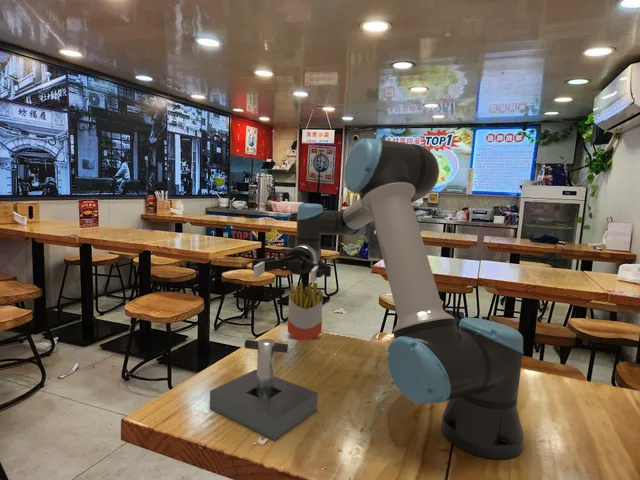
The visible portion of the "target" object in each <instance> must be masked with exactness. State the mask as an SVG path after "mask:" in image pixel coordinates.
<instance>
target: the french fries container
mask: <svg viewBox="0 0 640 480" xmlns="http://www.w3.org/2000/svg"><path fill="white" fill-rule="evenodd" d="M294 286H295V284H294V283H290V286H289V287H290V289H289V290H288V291H289V293H288V310H287V311H288V312H287V314H288V315H287V333H288V334H289V335H291V336H292V337H293V338H294V339H295V340H311V341H312V340H314V339H315V338H316V337H318V335H319V336H320V334H321V333H322V329H323V328H322V326H323V301H324V299H323V297H324V296H323V295H324V293H323V291H322V289H318V282H314V283H310V282H308V286H305V287H304V283H303V282H302V281H301V282H299V285H296V286H295V287H294ZM303 287H304V288H303ZM294 288H295V289H294ZM312 289H313V290H312Z"/></svg>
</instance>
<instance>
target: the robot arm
mask: <svg viewBox="0 0 640 480" xmlns="http://www.w3.org/2000/svg"><path fill="white" fill-rule="evenodd" d="M343 173H344V175H343V176H344V183H345V187H346V188H347V190H348V191H350V192H351V193H353V194H359V199H358V200H356V201H354V202H353V203H352V204H351V205H349V206H347V207H345V208H344V209H343V210H327V209H326V210H325V209H323V205H322V204H321V203H320V204H319V203H309V202H307V203H306V202H305V203H304V202H303V203H300V204H299V205H298V209H297V216H296V235H295V237H296V239H295V247H294V248H293V249H291V250H289V251H288V253H287V254H286V256H282V257H278V256H277V255H274V256H270V257H266V258H265V257H263V258H259V259H253V260H251V271H253V274H252V275H253V276H252V277H253V279H254V278H255V279H257V278H259V277H260V276H261V275H263V274H265V272H269V271H270V272H271V271H278V270H279V271H283V272H284V271H289V272H290V273H291V274H293V275H297V276H301V275H306V274H307V273H309V274H310V282H309V283H311V284H313V283H316V281H317V279H318V278H322V277H324V276H325V277H326V278H329V277H330V278H331V276H332V275H331V273H332V266H331V265H329V264H328V263H326V262H324V261H323V259H321V256H322V248H321V238H322V237H321V236H322V235H328V236H336V235H337V236H354V235H355V236H356V235H357V236H359V235H360V234H362V233H363V232H364V230H365V227H366V225H368V224H369V223H371V222H373V225H374V229H375V232H376V236H377V242H378V244H379V249H380V253H381V256H382V257H381V258H382V260H383V263H384V269H385V272H386V275H387V279H388V284H389V285H388V286H389V288H390V291H391V296H392V300H393V305H394V308H395V312H396V315H397V318H398V320H397V323H396V325H395V326H394V329H393V331H392V333H393V336H394V339H393V340H392V341H391V342H390V343H389V345H388V347H387V348H388V349H387V353H388V354H387V355H386V363H387V368H388V371H389V375H390V377H391V379H392V382H393V383H394V385H395V387H396V388H397V389H398V391H399V392H400V393H401V394H403V395H404V397H405V398H406V399H408V400H409V401H410V402H412V403H415V404H419V405H428V404H439V403H441V404H442V403H445V402H446V401H448V403H447V405H446V407H445V409H444V411H443V413H442V416H441V417H442V418H441V426H440V428H441V432H442V433H443V435H444V437H446V438H447V440H448V441H449V442H450V443H452V444H453V445H455V446H456V447H457V448H459V449H461V450H462V451H466V452H467V453H470V454H473V455H475V456H477V457H478V456H479V457H482V458H487V459H492V460H506V459H512V458H515V457H517V456H518V455H520V454H521V453H522V451H523V447H524V431H523V428H522V423H521V419H520V415H519V411H518V398H519V389H520V377H521V372H522V371H521V369H522V361H523V355H524V337H523V335H522V334H521V333H520V332H519V330H517V329H516V328H514V327H511V326H509V325H506V324H503V323H499V322H497V321H492V320H489V319H483V318H476V317H463V318H461V319H460V321H459V324H458V325H457V322H456V318H455V317H454V316H452V315H451V314H450V313H447V312H446V311H445V310H444V308H443V304H442V301H441V297H440V295H439V290H438V288H437V285H436V281H435V277H434V274H433V270H432V268H431V263H430V261H429V257H428V254H427V251H426V246H425V243H424V240H423V237H422V233H421V230H420V227H419V222H418V220H417V216H416V213H415V209H414V206H413V203H415V202H417V201H419V200H420V199H422V198H424V197H425V196H427V195H428V194H429V193H431V192H432V190H433V189H434V188H435V186H436V184H437V182H438V180H439V177H440V167H439V162H438V160H437V158H436V156H435V155H434V153H433V152H431V151H430V150H429V149H428V148H426V147H425V146H423V145H420V144H415V143H407V142H398V141H392V140H386V139H385V140H384V139H380V138H378V137H377V138H368V137H367V138H362V139H360V140H358V141H357V142H356V143H355V144H354V145H353V147H352V148H351V149H350V151H349V153H348V155H347V157H346V162H345V167H344V172H343Z"/></svg>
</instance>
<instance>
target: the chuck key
mask: <svg viewBox="0 0 640 480" xmlns="http://www.w3.org/2000/svg"><path fill="white" fill-rule="evenodd" d="M244 349H247V350H257V361H256V363H257V365H256V370H257V386H256V397H258V398H260V399H262V400H265V401H266V400H268V399H270V398H271V397H273V376H275V374H274V372H275V368H274V367H275V353H282V354H287V353H288V350H289V344H288V343H282V342H281V343H279V342H276V341H275V340H274V339H270V338H262V339H260V340H252V339H246V340H245V341H244Z"/></svg>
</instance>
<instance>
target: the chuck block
mask: <svg viewBox="0 0 640 480" xmlns="http://www.w3.org/2000/svg"><path fill="white" fill-rule="evenodd" d="M256 386H257V368H255V369H253V370H251V371H249V372H247V373H245V374H243V375H240V376H239V377H237V378H234V379H232V380H230V381H228V382H226V383H223V384H222V385H220V386H218V387H216V388H212V389H211V390H209V410H211V411H213V412H215V413H217V414H219V415H222V416H224V417H226V418H228V419H230V420H232V421H234V422H236V423H238V424H240V425H241V426H244V427H246V428H248V429H250V430H252V431H254V432H256V433H259V434H260V435H262V436H264V437H266V438H268V439H270V440H272V441H274V442H275V441H276V440H278V439H280V438H281V437H282V436H283V435H284V434H286V433H288V432H289V431H290V430H291V429H293V428H295V426H297V425H298V424H300V423H301V422H303V421H304V420H305V419H307V418H308V417H310V416H311V415H312V414H313V413H315V412H316V411H318V408H317V407H318V395H319V392H317V391H315V390H312V389H309V388H306V387H304V386H301V385H299V384H295V383H294V382H290V381H288V380H285V379H282V378H280V377H277V376H275V375H273V397H271V398H270V399H268V400H266V401H265V400H262V399H260V398H258V397H256Z"/></svg>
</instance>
